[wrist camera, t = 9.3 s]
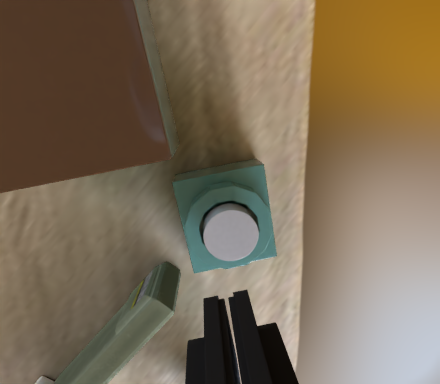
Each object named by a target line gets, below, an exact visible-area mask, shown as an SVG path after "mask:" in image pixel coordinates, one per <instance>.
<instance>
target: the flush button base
mask: <svg viewBox="0 0 440 384" xmlns="http://www.w3.org/2000/svg"><path fill="white" fill-rule="evenodd" d="M172 185H173V189H174V193H175V197H176V201H177V205H178V209H179V214H180V218H181V222H182V226H183V230H184V234H185V238H186V242H187V246H188V250H189V255H190V259H191V263H192V267H193V271H194V273H198V272H203V271H208V270H213V269H218V268H223V269H229V268H234V267H239V266H244V265H247V264H249V263H250V262H252V261H256V260H261V259H266V258H271V257H276V256H277V253H276V246H275V239H274V232H273V224H272V218H271V211H270V204H269V197H268V190H267V183H266V177H265V170H264V164H263V163H261V162H260V161H259V160H257V159H251V160H246V161H241V162H236V163H231V164H226V165H221V166H216V167H211V168H206V169H201V170H196V171H191V172H186V173H181V174H176V175H175V176H174V179H173V182H172ZM226 203H233V204H238V205H241V206H243V207H244V208H246V209H247V210H248V211H249V212H250V213H251V215H252V217H253V219H254V221H255V222H256V224H257V227H258V232H259V237H258V242H257V244H256V246H255V248H254V249H253V251H252V252H251V253H250V254H249V255H247V256H246V257H244V258H242V259H239V260H235V261H224V260H221V259H218V258H216V257H214V256H213V255H212V254H211V253H210V252H209V251H208V250H207V248H206V246H205V243H204V239H203V224H204V220H205V218H206V216H207V215H208V213H209V212H210V211H211V210H212V209H214V208H215V207H217V206H219V205H222V204H226Z"/></svg>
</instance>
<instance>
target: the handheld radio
mask: <svg viewBox="0 0 440 384" xmlns="http://www.w3.org/2000/svg"><path fill="white" fill-rule="evenodd" d="M180 276H181V273H180V270H179V269H178V268H176V267H175V266H173V265H172V264H170V263H169V262H165V263H163V264H161V265H158V266H156V267H155V268H154V269H153V270H152V271H151V272H150V273H149V274H148V275H147V276H146V277H145V279H144V280H143V281H142V282H141V283H140V284H139V285H138V286H137V287H136V288H135V289H134V291H133V292H132V293H131V294H130V296H129V298H128V301H127V302H126V303H125V304H124V305H123V306H122V308H121V309H120V310H119V311H118V312H117V313H116V314H115V315H114V316H113V317H112V318H111V320H110V321H109V322H108V323H107V324H106V325H105V326H104V327H103V328H102V329H101V330H100V332H99V333H98V334H97V335H96V336H95V337H94V338H93V339H92V340H91V341H90V342H89V343H88V345H87V346H86V347H85V348H84V349H83V350H82V351H81V352H80V353H79V354H78V355H77V357H76V358H75V359H74V360H73V361H72V362H71V363H70V364H69V365H68V366H67V367H66V369H65V370H64V371H63V372H62V373H61V374H60V375H59V376H58V378H57V379H56V381H55V383H54V384H107V383H108V382H109V381H110V380H111V379H112V378H113V377H114V376H115V375H116V374H117V373H118V372H119V371H120V370H121V369H122V368H123V367H124V366H125V365H126V364H127V363H128V362H129V361H130V360H131V358H132V357H133V356H134V355H135V354H136V353H137V352H138V351H139V350H140V349H141V348H142V347H143V346H144V345H145V344H146V343H147V342H148V341H149V340H150V339H151V338H152V337H153V336H154V335H155V334H156V332H157V331H158V330H159V329H160V328H161V327H162V326H163V325H164V324H165V323H166V322H167V321H168V320H169V319H170V318H171V317H172V316H173V315H174V312H175V306H176V300H177V294H178V288H179V282H180Z"/></svg>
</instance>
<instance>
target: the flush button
mask: <svg viewBox="0 0 440 384" xmlns="http://www.w3.org/2000/svg"><path fill="white" fill-rule="evenodd" d="M258 237H259V232H258V227H257V224H256V222H255V221H254V219H253V217H252V215H251V213H250V212H249V211H248V210H247V209H246V208H244V207H243V206H241V205H238V204H233V203H226V204H222V205H219V206H217V207H215V208H214V209H212V210H211V211H210V212H209V213H208V215H207V216H206V218H205V220H204V224H203V239H204V243H205V246H206V248H207V250H208V251H209V252H210V253H211V254H212V255H213V256H214V257H216V258H218V259H221V260H224V261H235V260H239V259H242V258H244V257H246V256H247V255H249V254H250V253H251V252H252V251H253V249H254V248H255V246H256V244H257V242H258Z"/></svg>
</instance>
